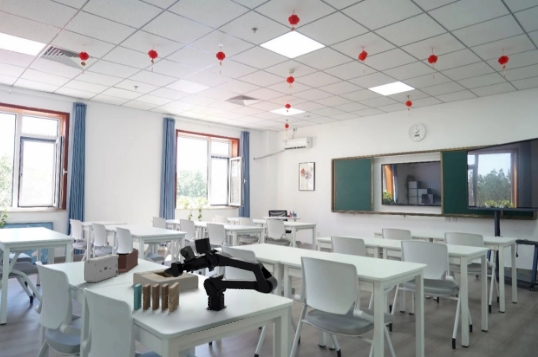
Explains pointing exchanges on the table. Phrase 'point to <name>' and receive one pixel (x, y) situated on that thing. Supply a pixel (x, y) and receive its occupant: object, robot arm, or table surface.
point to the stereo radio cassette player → (100, 267)
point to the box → (166, 279)
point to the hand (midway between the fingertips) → (170, 269)
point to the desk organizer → (127, 261)
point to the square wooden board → (173, 297)
